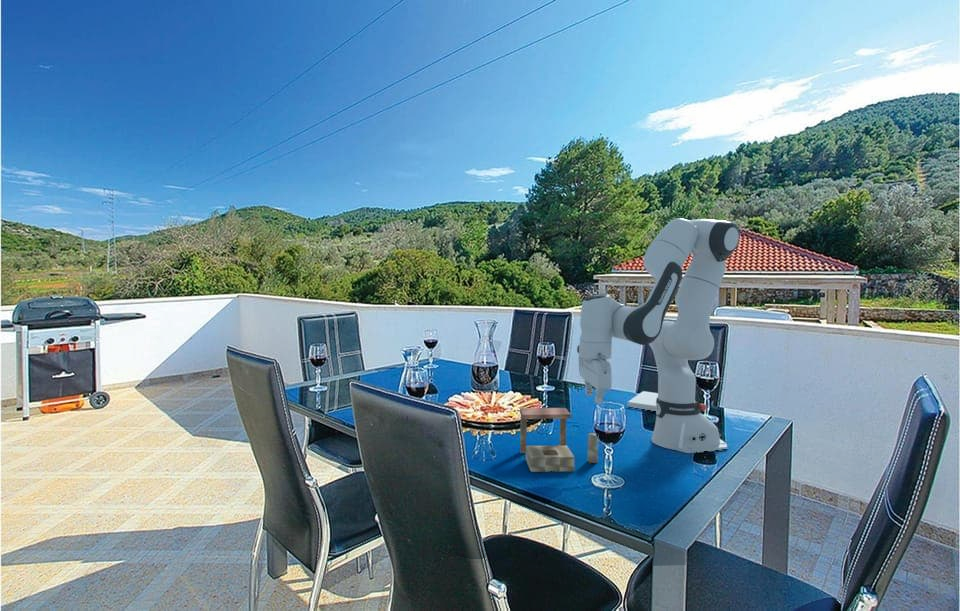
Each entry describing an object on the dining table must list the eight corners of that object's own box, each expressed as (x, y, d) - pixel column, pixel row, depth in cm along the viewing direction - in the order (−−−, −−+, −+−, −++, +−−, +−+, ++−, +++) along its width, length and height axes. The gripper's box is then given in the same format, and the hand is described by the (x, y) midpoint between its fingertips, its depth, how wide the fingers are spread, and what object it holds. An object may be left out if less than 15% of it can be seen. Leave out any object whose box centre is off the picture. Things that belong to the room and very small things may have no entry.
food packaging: (665, 415, 191) (678, 403, 207) (665, 407, 190) (678, 395, 207) (627, 409, 199) (642, 398, 216) (627, 401, 199) (642, 391, 215)
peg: (596, 460, 142) (596, 433, 141) (598, 463, 139) (599, 436, 138) (586, 460, 142) (587, 433, 141) (589, 463, 139) (589, 436, 138)
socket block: (566, 458, 142) (566, 445, 142) (574, 471, 133) (574, 456, 133) (525, 459, 142) (526, 445, 142) (530, 471, 133) (530, 457, 133)
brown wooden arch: (564, 450, 149) (565, 407, 149) (569, 458, 142) (570, 414, 142) (519, 450, 149) (519, 408, 148) (522, 459, 142) (523, 414, 141)
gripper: (618, 357, 128) (616, 409, 129) (595, 346, 148) (594, 390, 149) (594, 357, 128) (593, 409, 129) (575, 345, 148) (574, 390, 149)
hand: (593, 399), depth 139 cm, fingers open, 8 cm apart
